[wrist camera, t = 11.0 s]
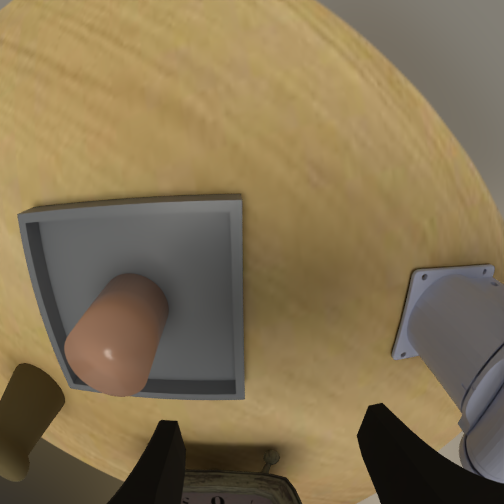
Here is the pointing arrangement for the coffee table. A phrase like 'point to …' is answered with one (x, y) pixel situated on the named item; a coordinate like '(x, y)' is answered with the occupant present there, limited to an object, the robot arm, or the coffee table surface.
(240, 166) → the coffee table surface
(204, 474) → the tabletop clock
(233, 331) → the tray
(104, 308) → the brown clay cylinder
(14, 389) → the brown pawn figure
